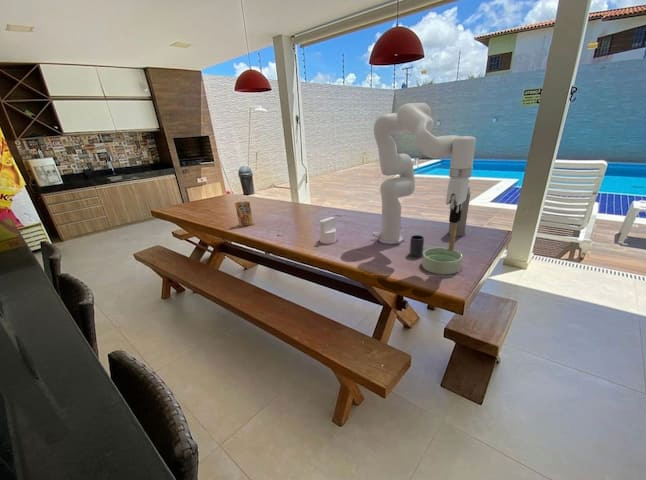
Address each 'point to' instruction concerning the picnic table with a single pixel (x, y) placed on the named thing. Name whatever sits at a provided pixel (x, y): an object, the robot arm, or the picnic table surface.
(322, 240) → the cylinder with rectangular tab
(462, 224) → the thermos bottle
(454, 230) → the stick
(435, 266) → the bowl
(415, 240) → the holder
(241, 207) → the candy box
